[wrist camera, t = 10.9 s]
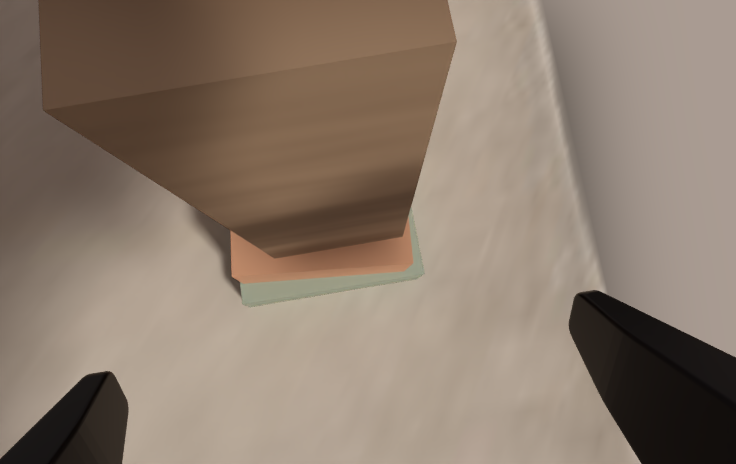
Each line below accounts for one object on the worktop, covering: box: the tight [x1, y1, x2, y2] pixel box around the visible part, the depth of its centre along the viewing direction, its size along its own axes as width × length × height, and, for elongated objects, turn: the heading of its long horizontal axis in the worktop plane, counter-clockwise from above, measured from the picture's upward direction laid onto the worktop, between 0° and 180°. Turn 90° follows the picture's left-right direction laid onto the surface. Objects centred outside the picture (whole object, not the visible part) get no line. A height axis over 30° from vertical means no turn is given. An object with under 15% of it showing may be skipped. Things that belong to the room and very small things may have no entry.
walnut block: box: [39, 0, 457, 259], centre depth 13 cm, size 5×5×13 cm
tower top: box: [230, 216, 413, 284], centre depth 20 cm, size 7×7×2 cm
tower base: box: [240, 208, 425, 307], centre depth 23 cm, size 8×8×2 cm
